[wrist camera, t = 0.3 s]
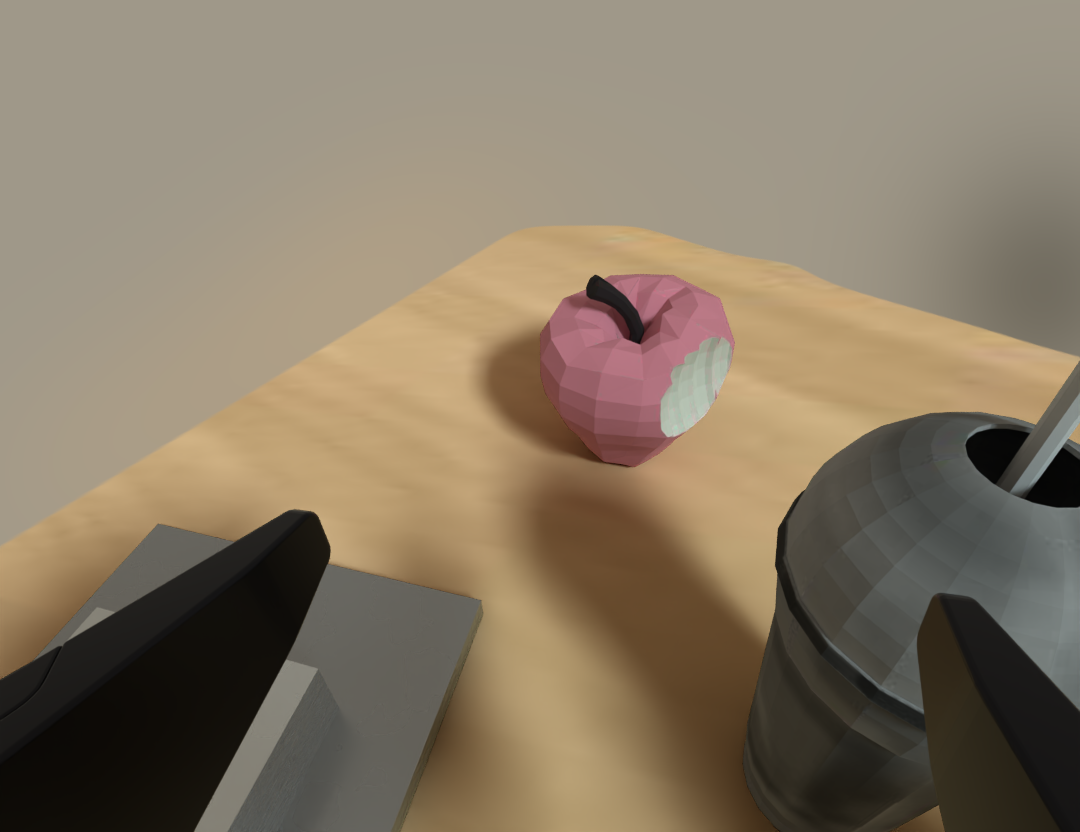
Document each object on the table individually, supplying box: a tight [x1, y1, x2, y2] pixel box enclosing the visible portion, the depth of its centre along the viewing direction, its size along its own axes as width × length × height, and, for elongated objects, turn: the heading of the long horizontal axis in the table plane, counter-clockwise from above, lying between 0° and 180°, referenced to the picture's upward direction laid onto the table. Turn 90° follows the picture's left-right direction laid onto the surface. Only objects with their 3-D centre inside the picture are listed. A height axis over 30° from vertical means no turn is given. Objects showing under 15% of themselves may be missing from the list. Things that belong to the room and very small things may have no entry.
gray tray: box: [33, 524, 483, 832], centre depth 19 cm, size 20×16×6 cm
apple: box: [540, 274, 735, 467], centre depth 31 cm, size 10×9×10 cm
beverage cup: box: [743, 361, 1080, 832], centre depth 15 cm, size 7×7×20 cm
